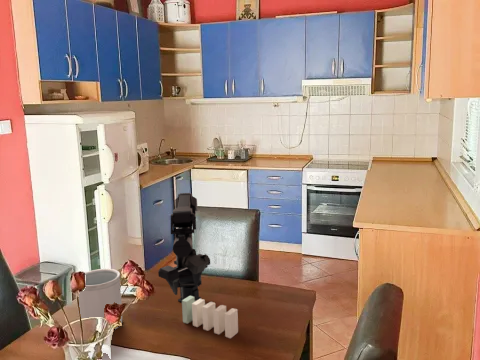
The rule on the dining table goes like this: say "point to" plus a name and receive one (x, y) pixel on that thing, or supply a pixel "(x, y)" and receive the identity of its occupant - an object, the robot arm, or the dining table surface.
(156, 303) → the dining table surface
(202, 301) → the cream domino
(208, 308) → the cream domino
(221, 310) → the cream domino
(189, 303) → the sage domino
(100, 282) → the utensil holder
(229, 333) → the cream domino
